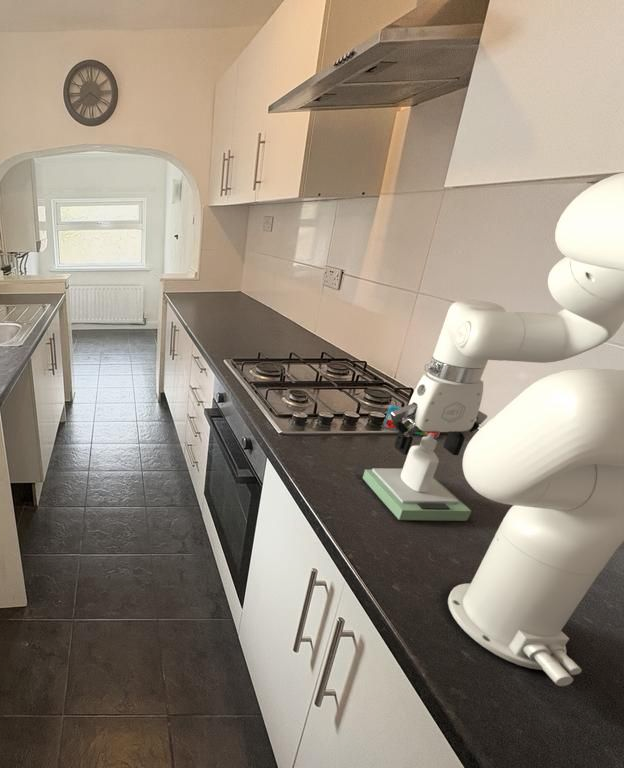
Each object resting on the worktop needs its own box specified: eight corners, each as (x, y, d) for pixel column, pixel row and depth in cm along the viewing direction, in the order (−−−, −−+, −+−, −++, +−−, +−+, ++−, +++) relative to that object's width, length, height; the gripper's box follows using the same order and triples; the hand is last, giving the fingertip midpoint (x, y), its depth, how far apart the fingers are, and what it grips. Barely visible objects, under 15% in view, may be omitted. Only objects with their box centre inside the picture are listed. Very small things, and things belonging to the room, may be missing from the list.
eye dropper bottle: (424, 479, 86) (443, 429, 81) (428, 495, 81) (448, 443, 76) (399, 473, 88) (416, 424, 83) (401, 488, 83) (420, 437, 78)
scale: (467, 520, 79) (472, 508, 78) (398, 520, 79) (403, 507, 78) (421, 478, 91) (426, 467, 90) (362, 478, 91) (365, 467, 90)
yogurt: (383, 427, 111) (390, 407, 109) (383, 424, 113) (389, 404, 110) (438, 438, 106) (445, 417, 104) (437, 435, 108) (444, 414, 105)
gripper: (420, 378, 71) (392, 461, 78) (522, 379, 71) (485, 462, 78) (393, 362, 78) (370, 440, 85) (486, 363, 78) (455, 441, 85)
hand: (425, 451), depth 81 cm, fingers open, 9 cm apart
